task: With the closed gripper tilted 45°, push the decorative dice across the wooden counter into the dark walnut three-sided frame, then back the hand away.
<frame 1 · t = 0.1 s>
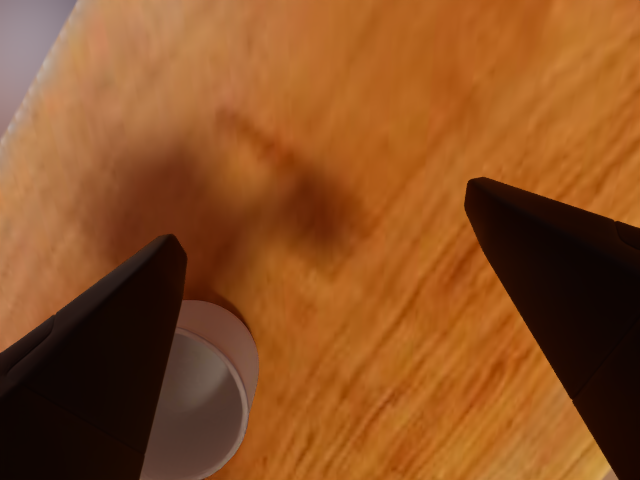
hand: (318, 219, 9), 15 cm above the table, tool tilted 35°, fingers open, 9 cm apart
teacup: (201, 361, 27), on the table
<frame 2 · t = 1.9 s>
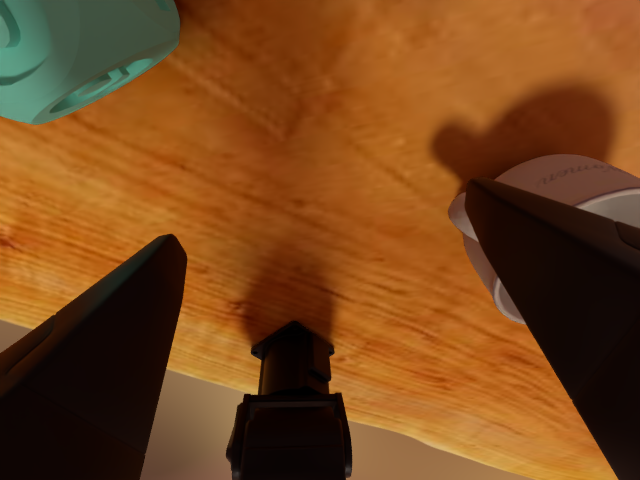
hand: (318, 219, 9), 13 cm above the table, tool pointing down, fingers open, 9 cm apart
teacup: (498, 198, 25), on the table
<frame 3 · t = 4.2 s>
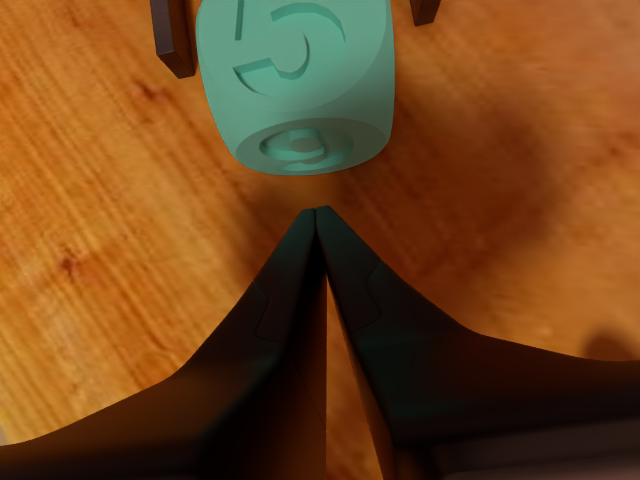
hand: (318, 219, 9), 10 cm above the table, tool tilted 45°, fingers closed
decorative dice: (313, 117, 20), on the table
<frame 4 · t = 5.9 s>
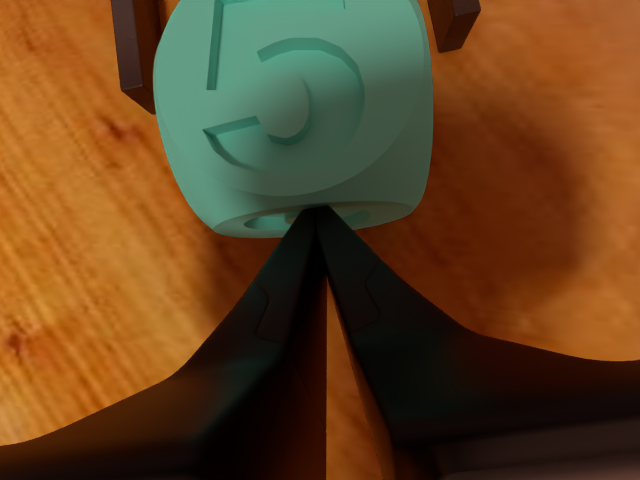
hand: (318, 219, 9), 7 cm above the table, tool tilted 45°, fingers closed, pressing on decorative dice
decorative dice: (315, 162, 17), on the table, touching gripper
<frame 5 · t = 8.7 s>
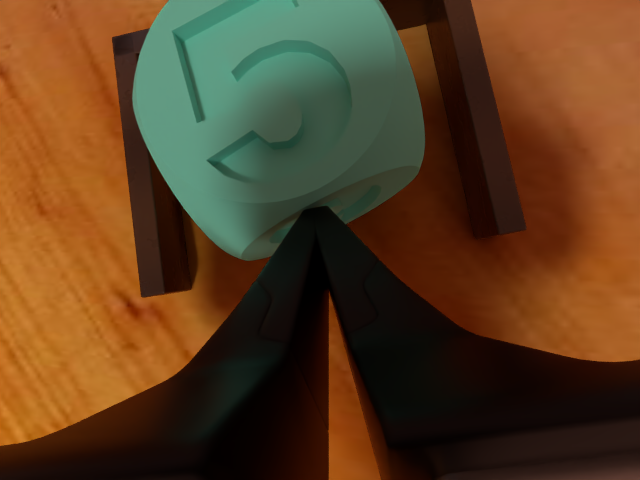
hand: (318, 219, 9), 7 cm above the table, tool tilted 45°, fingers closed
decorative dice: (302, 166, 17), on the table, touching gripper
walnut frame: (309, 156, 17), on the table
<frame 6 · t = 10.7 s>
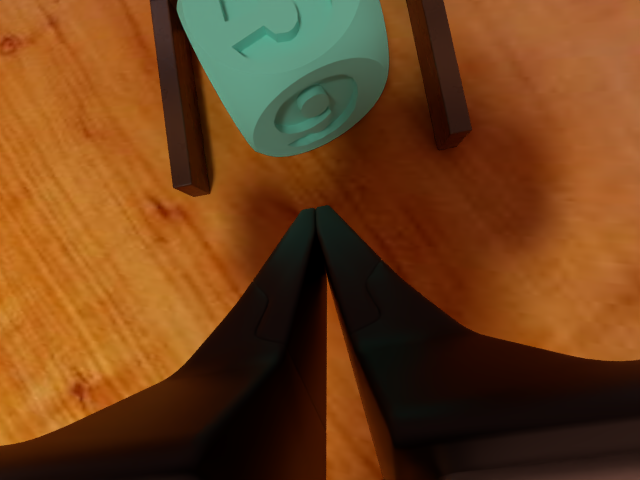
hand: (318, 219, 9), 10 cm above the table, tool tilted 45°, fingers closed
decorative dice: (300, 95, 21), on the table
walnut frame: (306, 86, 21), on the table
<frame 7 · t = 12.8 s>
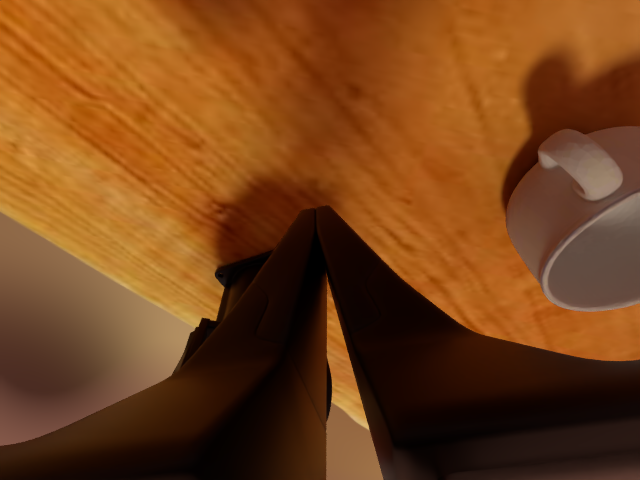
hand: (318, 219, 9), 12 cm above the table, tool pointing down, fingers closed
teacup: (552, 169, 22), on the table
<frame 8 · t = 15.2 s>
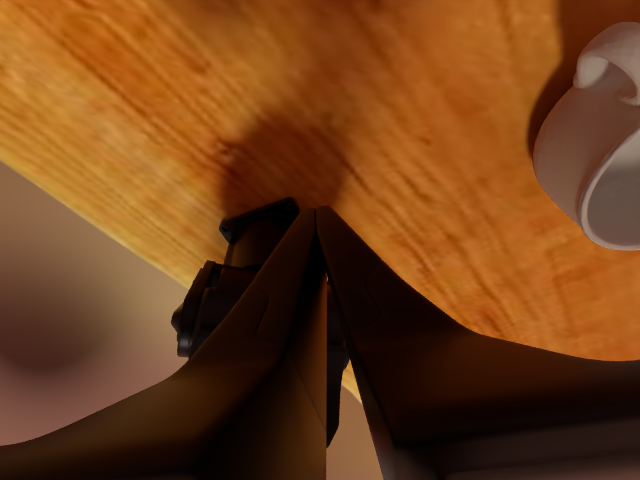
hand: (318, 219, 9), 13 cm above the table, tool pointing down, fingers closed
teacup: (581, 104, 21), on the table
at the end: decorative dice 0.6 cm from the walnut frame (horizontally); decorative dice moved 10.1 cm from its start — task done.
